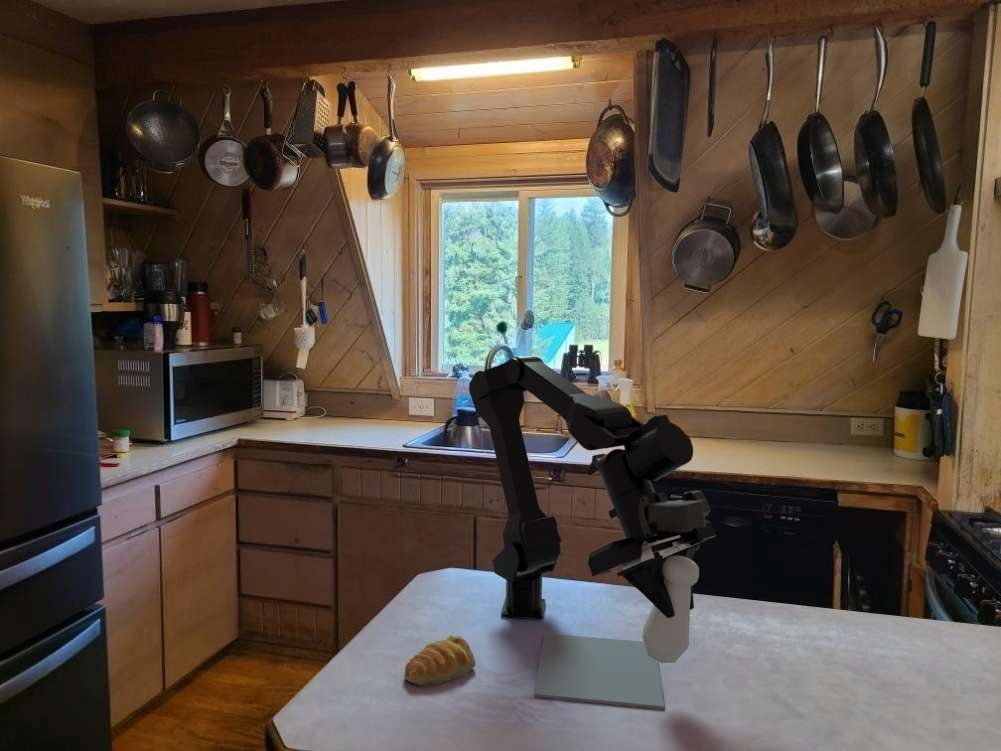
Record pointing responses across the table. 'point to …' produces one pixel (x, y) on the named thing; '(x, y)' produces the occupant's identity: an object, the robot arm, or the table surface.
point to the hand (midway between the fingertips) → (681, 613)
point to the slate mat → (598, 671)
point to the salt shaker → (672, 634)
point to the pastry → (440, 662)
